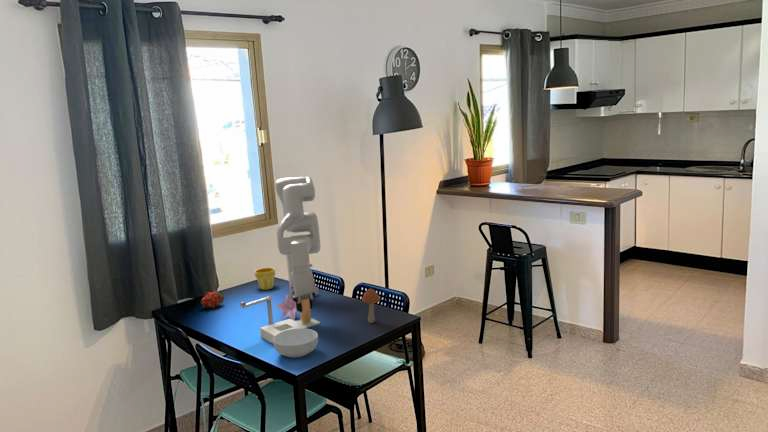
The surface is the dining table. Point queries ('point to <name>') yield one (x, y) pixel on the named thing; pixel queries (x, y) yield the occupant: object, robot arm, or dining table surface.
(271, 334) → the socket block
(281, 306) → the lily
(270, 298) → the grey ball-jointed lever
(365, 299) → the mushroom
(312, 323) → the pad
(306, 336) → the cereal bowl
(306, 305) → the plug
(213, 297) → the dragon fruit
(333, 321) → the dining table surface
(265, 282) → the plant pot
